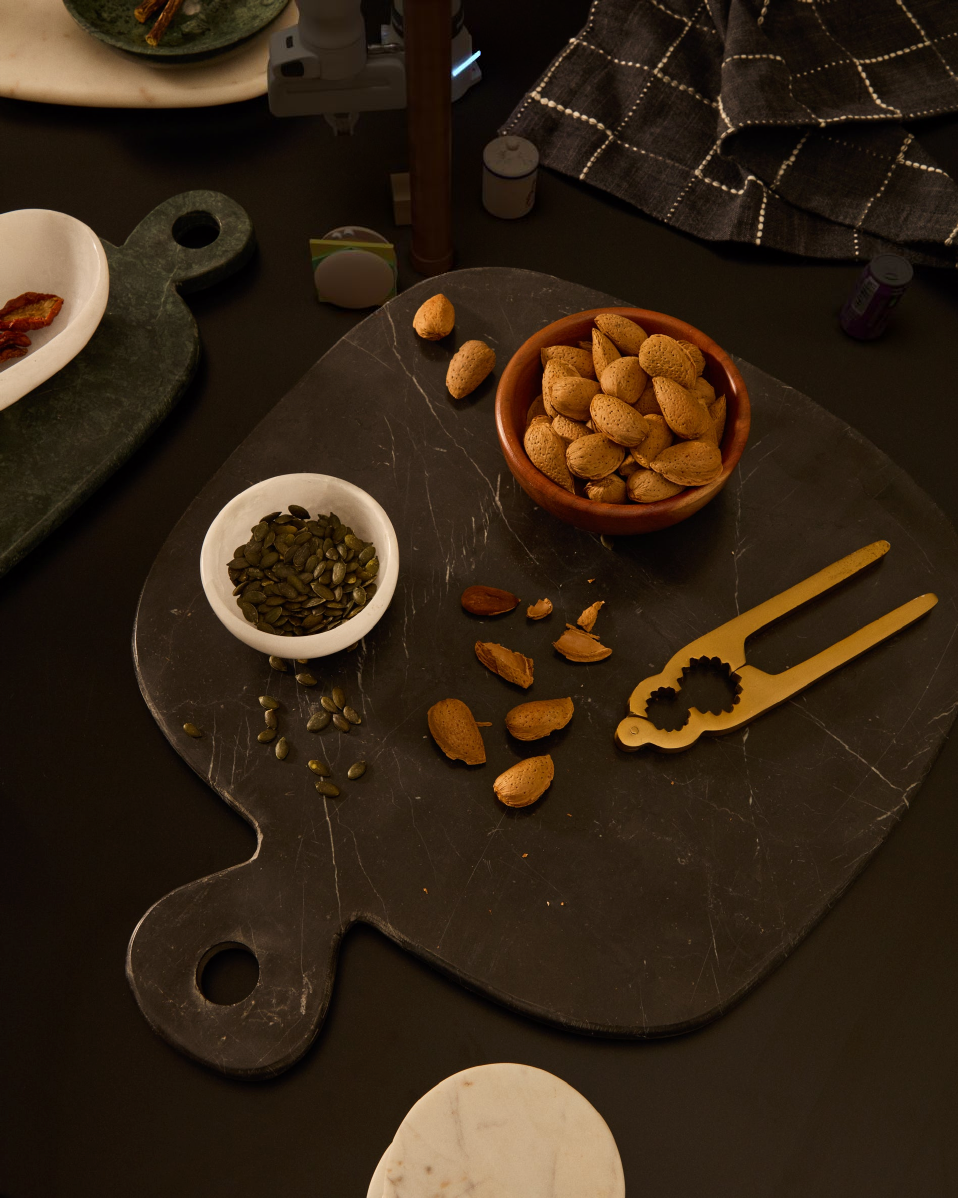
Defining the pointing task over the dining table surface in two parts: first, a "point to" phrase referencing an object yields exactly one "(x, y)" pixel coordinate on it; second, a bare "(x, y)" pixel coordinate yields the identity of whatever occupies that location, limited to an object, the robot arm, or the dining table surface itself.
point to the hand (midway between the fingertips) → (343, 132)
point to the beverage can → (876, 296)
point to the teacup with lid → (509, 176)
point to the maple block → (401, 198)
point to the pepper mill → (429, 131)
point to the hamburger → (354, 268)
